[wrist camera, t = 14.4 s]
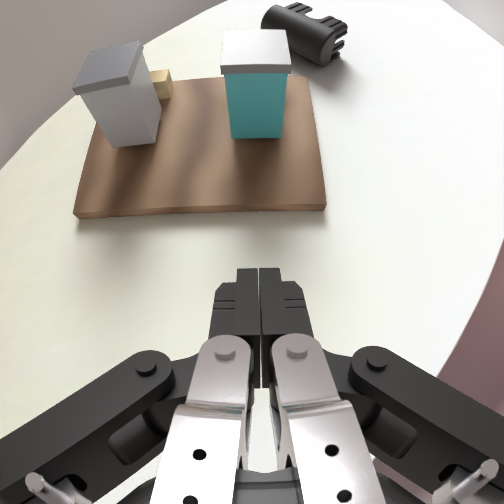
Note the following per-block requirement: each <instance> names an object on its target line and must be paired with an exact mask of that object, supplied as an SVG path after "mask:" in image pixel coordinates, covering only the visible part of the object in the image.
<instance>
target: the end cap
mask: <svg viewBox="0 0 504 504" xmlns="http://www.w3.org/2000/svg"><path fill="white" fill-rule="evenodd" d="M310 11H312V8H311V7H309V6H306V5H303V4H302V3H298V2H296V3H294V4H291V5H289V6H287V7H281V6H279V5H274V6H272V7H271V8H270V9H269V10H268V11H267V12H266V13H265V15H264V17H263V19H262V22H261V29H270V30H286V36H287V42H288V47H289V50H291V51H293V52H295V53H297V54H299V55H301V56H303V57H305V58H307V59H309V60H311V61H312V62H314V63H316V64H318V65H320V66H322V67H324V66H326V65H328V64H329V63H331V62H332V61H334V60H335V59H337V58H338V57H339V56H340V52H338V50H340V49H342V48H343V46H344V40H341V41H339V42H337V43H336V44H335V41H336V40H337V39H338V38H340V37H342V36H344V35H346V33H347V28H348V27H347V24H346V23H344V22H342V21H341V20H338V19H336V18H334V17H331V16H328V17H326V18H323V19H313V18H310V17H307V16H306V15H305V14H306V13H308V12H310Z"/></svg>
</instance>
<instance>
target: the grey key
mask: <svg viewBox="0 0 504 504" xmlns="http://www.w3.org/2000/svg"><path fill="white" fill-rule="evenodd" d="M143 48H144V47H143V44H142V41H141V40H139V41H134V42H129V43H125V44H120V45H115V46H111V47H107V48H103V49H99V50H95V51H91V52H90V54H89V55H88V57H87V59H86V61H85V63H84V65H83V67H82V69H81V71H80V73H79V75H78V77H77V79H76V81H75V83H74V85H73V87H72V89H73V91H74V92H75V94H76V95H80V96H81V98H82V99H83V101H84V103H85V104H86V106H87V108H88V109H89V111H90V113H91V114H92V116H93V117H94V119H95V121H96V122H97V124H98V126H99V127H100V129H101V130H102V132H103V134H104V135H105V137H106V138H107V140H108V141H109V143H110V145H111V146H112V148H116V147H124V146H132V145H141V144H150V143H155V141H156V136H157V130H158V125H159V120H160V115H161V110H162V108H161V105H160V102H159V99H158V97H157V94H156V91H155V88H154V85H153V82H152V79H151V77H150V74H149V71H148V68H147V65H146V62H145V59H144V56H143V53H142V51H143Z"/></svg>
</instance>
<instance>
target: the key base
mask: <svg viewBox="0 0 504 504" xmlns="http://www.w3.org/2000/svg"><path fill="white" fill-rule="evenodd" d="M149 74H150V77H151V79H152V82H153V85H154V88H155V91H156V94H157V97H158V99H159V102H160V105H161V108H162V110H161V115H160V120H159V125H158V130H157V136H156V141H155V143H150V144H141V145H132V146H124V147H116V148H112V146H111V145H110V143H109V141H108V140H107V138H106V137H105V135H104V134H103V132H102V130H101V129H100V127H99V126H98V124H97V122H96V125H95V129H94V132H93V135H92V138H91V142H90V145H89V148H88V152H87V156H86V159H85V163H84V167H83V171H82V175H81V179H80V183H79V187H78V191H77V196H76V200H75V205H74V210H73V214H74V215H75V216H76V217H77V218H79V219H85V218H100V217H116V216H133V215H152V214H174V213H200V212H234V211H324V209H325V206H326V204H327V203H326V195H325V187H324V179H323V172H322V164H321V157H320V151H319V144H318V138H317V131H316V125H315V119H314V114H313V108H312V102H311V97H310V91H309V86H308V81H307V77H298V76H287V85H286V95H285V105H284V115H283V125H282V135H281V138H239V139H231V131H230V122H229V114H228V105H227V96H226V87H225V78H224V77H216V78H202V79H191V80H181V81H172V79H171V76H170V72H169V69H166V70H159V71H152V72H149Z"/></svg>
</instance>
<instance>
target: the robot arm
mask: <svg viewBox="0 0 504 504" xmlns="http://www.w3.org/2000/svg"><path fill="white" fill-rule="evenodd" d="M259 315H260V316H259ZM260 341H261V365H262V388H269V392H270V406H269V408H270V416H271V422H272V429H273V435H274V442H275V448H276V455H277V470H278V471H275V472H271V473H259V472H254V471H249V470H248V453H249V442H250V431H251V420H252V406H253V403H254V388H260ZM162 451H164V452H163V455H162V459H161V463H160V467H159V470H158V474H157V477H155V478H153V479H150V480H148V481H146V482H145V483H143V484H141V485H140V486H138V487H137V488H136V489H134V490H133V491H132V492H131V493H129V494H128V495H127V496H126V497H124V498H123V499H122V500H121V501H119V502H118V503H117V504H425V503H424V502H422V501H421V500H420V499H418V498H417V497H415V496H414V495H412V494H411V493H410V492H408V491H407V490H405V489H404V488H403V487H401V486H400V485H399V484H397V483H396V482H394V481H393V480H392V479H390V478H388V477H386V476H385V475H383V474H381V473H378V472H376V471H375V468H374V465H373V463H372V460H371V457H370V454H369V452H370V453H371V454H372V455H374V456H375V457H377V458H378V459H379V460H381V461H382V462H384V463H385V464H387V465H388V466H390V467H391V468H393V469H394V470H396V471H397V472H398V473H400V474H401V475H403V476H405V477H406V478H407V479H409V480H410V481H412V482H414V483H415V484H417V485H418V486H420V487H421V488H423V489H424V490H426V491H428V492H429V493H431V494H432V495H433V500H432V501H433V504H504V417H503V416H501V415H500V414H498V413H496V412H495V411H493V410H491V409H489V408H488V407H486V406H484V405H482V404H481V403H479V402H477V401H475V400H474V399H472V398H470V397H468V396H467V395H465V394H463V393H461V392H460V391H458V390H456V389H455V388H453V387H451V386H449V385H448V384H446V383H444V382H443V381H441V380H439V379H437V378H436V377H434V376H432V375H431V374H429V373H427V372H425V371H424V370H422V369H420V368H419V367H417V366H415V365H413V364H412V363H410V362H408V361H407V360H405V359H403V358H402V357H400V356H398V355H396V354H395V353H393V352H391V351H390V350H388V349H386V348H383V347H379V346H367V347H363V348H361V349H359V350H358V351H356V352H355V353H354V355H353V357H349V356H342V355H337V354H333V353H330V352H328V351H326V350H324V349H323V348H322V347H321V345H320V343H319V342H318V341H317V340H316V339H314V336H313V332H312V327H311V323H310V319H309V315H308V311H307V308H306V302H305V298H304V294H303V290H302V288H301V287H300V286H299V285H298V284H297V283H296V282H295V281H282V280H281V274H280V269H279V268H259V293H258V270H257V268H248V269H237V280H236V282H232V283H222V284H221V285H220V286H219V288H218V289H217V290H216V291H215V298H214V304H213V311H212V317H211V324H210V331H209V337H208V340H207V341H206V342H205V343H204V344H203V345H202V346H201V348H200V351H199V353H197V354H196V355H194V356H191V357H189V358H185V359H181V360H176V361H170V359H169V357H168V356H166V355H165V354H164V353H162V352H159V351H154V350H147V351H141V352H138V353H136V354H134V355H132V356H131V357H129V358H128V359H126V360H124V361H123V362H121V363H120V364H118V365H117V366H115V367H114V368H112V369H111V370H109V371H108V372H106V373H105V374H103V375H101V376H100V377H98V378H97V379H95V380H94V381H92V382H91V383H89V384H87V385H86V386H84V387H83V388H81V389H80V390H78V391H77V392H75V393H73V394H72V395H70V396H69V397H67V398H66V399H64V400H62V401H61V402H59V403H58V404H56V405H55V406H53V407H51V408H50V409H48V410H47V411H45V412H44V413H42V414H40V415H39V416H37V417H36V418H34V419H32V420H31V421H29V422H28V423H26V424H24V425H23V426H21V427H20V428H18V429H16V430H15V431H13V432H11V433H10V434H8V435H7V436H5V437H3V438H2V439H0V504H93V503H94V502H96V501H97V500H98V499H100V498H101V497H103V496H104V495H106V494H107V493H108V492H110V491H111V490H113V489H114V488H115V487H117V486H118V485H119V484H121V483H122V482H124V481H125V480H126V479H128V478H129V477H130V476H132V475H133V474H134V473H136V472H137V471H138V470H140V469H141V468H142V467H143V466H145V465H146V464H147V463H149V462H150V461H151V460H152V459H154V458H155V457H156V456H157V455H159V454H160V453H161V452H162Z"/></svg>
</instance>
